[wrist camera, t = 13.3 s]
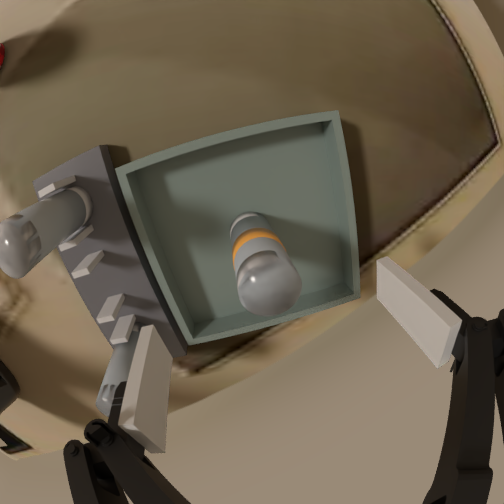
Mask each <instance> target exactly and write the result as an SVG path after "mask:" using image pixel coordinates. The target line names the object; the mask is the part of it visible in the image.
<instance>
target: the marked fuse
mask: <svg viewBox="0 0 504 504" xmlns="http://www.w3.org/2000/svg"><path fill="white" fill-rule="evenodd" d="M230 239H231V246H232V258H233V266H234V270H235V275H236V282H237V289H238V296H239V300H240V302H241V304H242V305H243V306H244V308H245V309H246V310H248V311H249V312H251V313H253V314H255V315H258V316H275V315H278V314H281V313H283V312H285V311H287V310H288V309H290V308H291V307H292V306H293V305H294V304H295V303H296V302H297V300H298V298H299V296H300V294H301V290H302V281H301V278H300V275H299V273H298V272H297V270H296V268H295V266H294V265H293V263H292V261H291V259H290V258H289V256H288V254H287V252H286V249H285V248H284V246H283V244H282V243H281V241H280V239H279V238H278V236H277V235H276V234H275V232H274V230H273V228H272V227H271V225H270V223H269V222H268V220H267V219H266V218H265V217H264V216H263V215H262V214H260V213H258V212H253V211H249V212H244V213H242V214H240V215H238V216H237V217H236V218H235V219H234V220H233V222H232V224H231V226H230Z"/></svg>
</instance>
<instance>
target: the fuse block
mask: <svg viewBox="0 0 504 504" xmlns="http://www.w3.org/2000/svg"><path fill="white" fill-rule="evenodd" d="M33 185H34V188H35V191H36V195H37V198H38V201H41V200H43V199H45V198H47V197H50V196H52V195H54V194H56V193H58V192H60V191H63V190H65V189H67V188H69V187H72V186H79V187H82V188H83V189H85V190H86V191H87V192H88V193H89V195H90V197H91V199H92V202H93V213H92V216H91V218H90V219H89V221H88V222H87V223H85V224H84V225H83V226H82V227H80V228H79V229H78V230H76V231H75V232H74V233H73V234H71V235H70V236H69V237H68V238H67V239H65V240H64V241H63V242H62V243H61V244H59V245H58V246H57V249H58V251H59V254H60V256H61V258H62V260H63V262H64V264H65V266H66V268H67V270H68V273H69V275H70V277H71V279H72V280H73V282H74V284H75V286H76V288H77V290H78V292H79V294H80V296H81V297H82V299H83V301H84V303H85V305H86V306H87V308H88V310H89V311H90V313H91V315H92V317H93V318H94V320H95V322H96V323H97V325H98V326H99V328H100V330H101V331H102V333H103V334H104V336H105V337H106V339H107V340H108V342H109V343H110V345H111V346H112V348H113V349H114V348H115V345H116V344H118V343H124V342H128V340H129V337H130V334H131V331H132V328H133V326H134V323H135V322H139V323H142V324H144V325H146V326H149V325H154V326H155V328H156V330H157V332H158V334H159V335H160V337H161V339H162V341H163V342H164V344H165V346H166V348H167V349H168V351H169V353H170V354H171V356H172V358H174V357H180V356H185V355H187V345H188V344H187V342H186V340H185V338H184V337H183V335H182V333H181V331H180V329H179V327H178V325H177V323H176V321H175V319H174V317H173V315H172V313H171V311H170V309H169V306H168V304H167V302H166V300H165V298H164V296H163V294H162V292H161V289H160V287H159V285H158V283H157V281H156V278H155V276H154V274H153V271H152V269H151V267H150V265H149V262H148V260H147V257H146V255H145V253H144V250H143V248H142V245H141V243H140V240H139V238H138V235H137V233H136V230H135V227H134V225H133V222H132V220H131V217H130V214H129V211H128V209H127V206H126V203H125V200H124V197H123V194H122V191H121V188H120V185H119V182H118V179H117V176H116V173H115V170H114V167H113V163H112V160H111V157H110V153H109V150H108V146H107V145H99V146H97V147H95V148H93V149H91V150H88V151H86V152H84V153H82V154H80V155H78V156H77V157H75V158H73V159H71V160H69V161H67V162H65V163H63V164H61V165H60V166H58V167H56V168H54V169H53V170H51V171H49V172H47V173H46V174H44V175H42V176H41V177H39V178H37V179H36V180H34V181H33Z"/></svg>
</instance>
